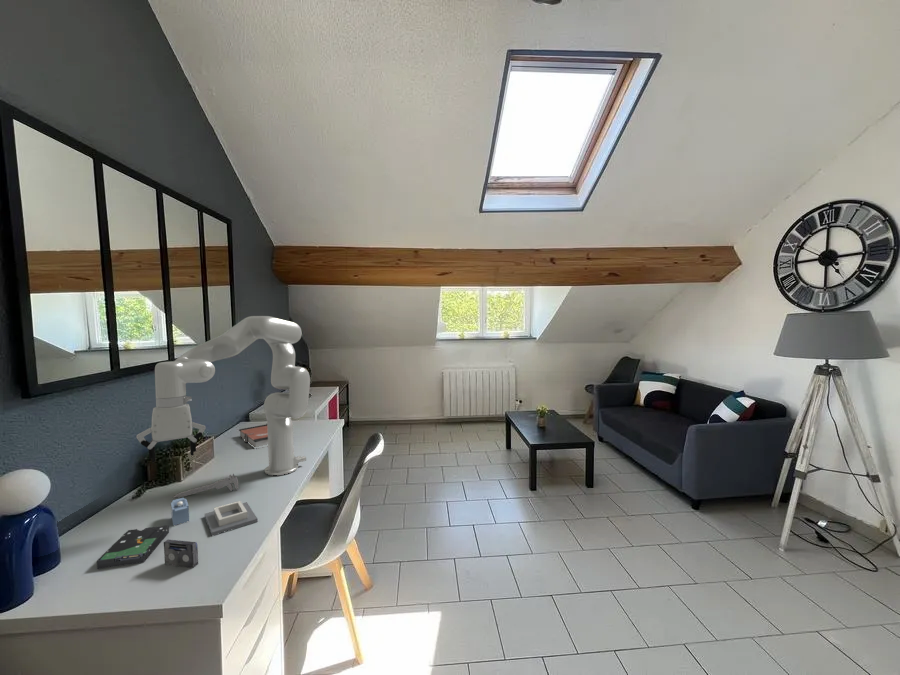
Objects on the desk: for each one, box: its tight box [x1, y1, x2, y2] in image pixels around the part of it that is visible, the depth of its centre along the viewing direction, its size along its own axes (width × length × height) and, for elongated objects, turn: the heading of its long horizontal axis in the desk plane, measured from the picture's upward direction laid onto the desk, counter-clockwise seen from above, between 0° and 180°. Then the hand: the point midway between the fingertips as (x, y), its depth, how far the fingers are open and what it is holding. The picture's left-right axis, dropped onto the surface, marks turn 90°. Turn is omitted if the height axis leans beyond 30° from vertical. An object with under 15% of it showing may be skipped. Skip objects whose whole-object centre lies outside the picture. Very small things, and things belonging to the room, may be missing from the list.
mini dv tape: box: [163, 539, 199, 569], centre depth 99 cm, size 8×2×6 cm, turn 81°
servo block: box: [170, 497, 190, 527], centre depth 121 cm, size 4×9×6 cm, turn 39°
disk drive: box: [96, 525, 170, 570], centre depth 106 cm, size 10×3×15 cm
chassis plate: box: [203, 500, 259, 536], centre depth 121 cm, size 12×14×3 cm
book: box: [238, 423, 268, 447], centre depth 201 cm, size 26×18×5 cm
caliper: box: [172, 473, 240, 499], centre depth 139 cm, size 20×1×6 cm, turn 106°
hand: (173, 457), depth 121 cm, fingers open, 9 cm apart
